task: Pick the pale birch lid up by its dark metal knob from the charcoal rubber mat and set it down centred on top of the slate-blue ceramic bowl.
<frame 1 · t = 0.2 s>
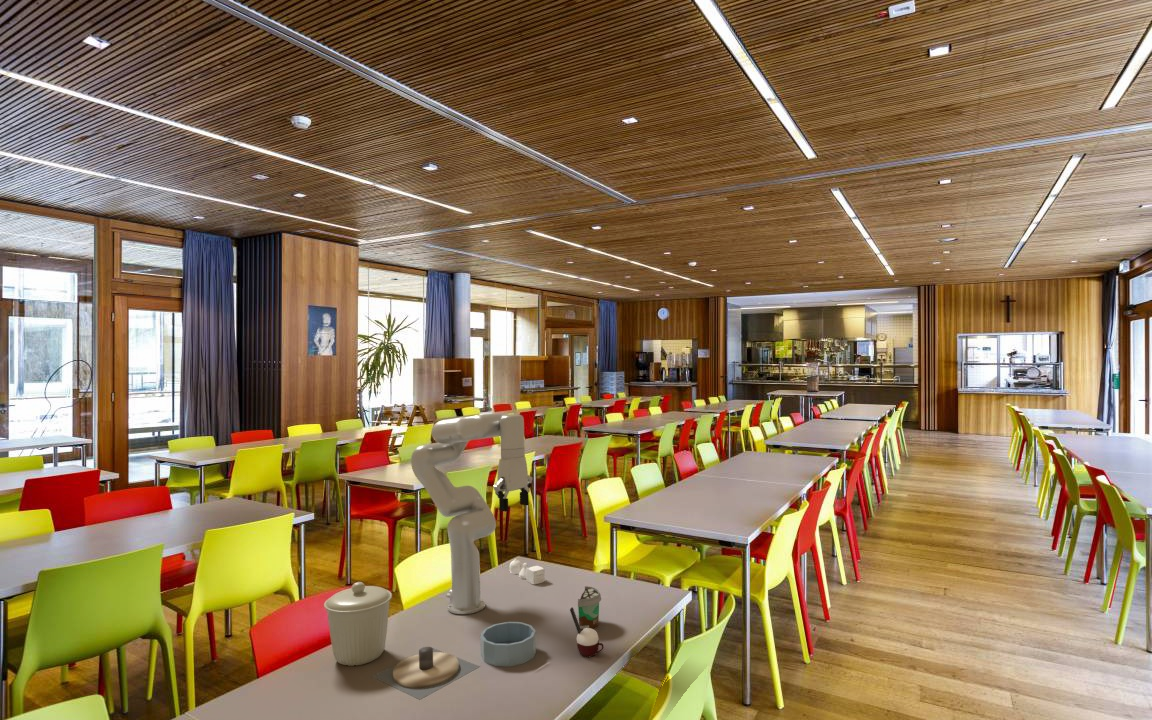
hand: (514, 507, 191), 37 cm above the table, tool pointing down, fingers open, 9 cm apart
lid: (426, 671, 161), resting on mat
container set: (525, 578, 235), on the table
food container: (592, 625, 188), on the table
canister: (359, 658, 171), on the table
cocoa: (587, 654, 170), on the table
mat: (426, 672, 161), on the table
bowl: (508, 654, 170), on the table
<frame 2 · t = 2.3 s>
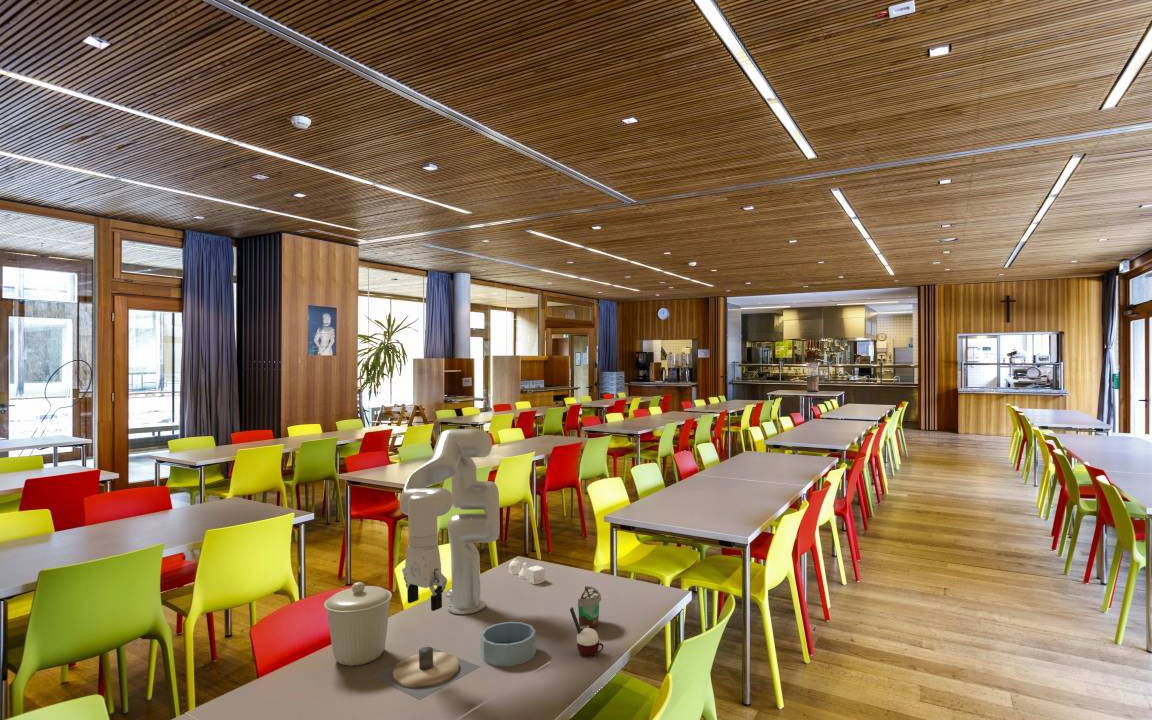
hand: (424, 605, 161), 18 cm above the table, tool pointing down, fingers open, 9 cm apart
nothing on the table moved.
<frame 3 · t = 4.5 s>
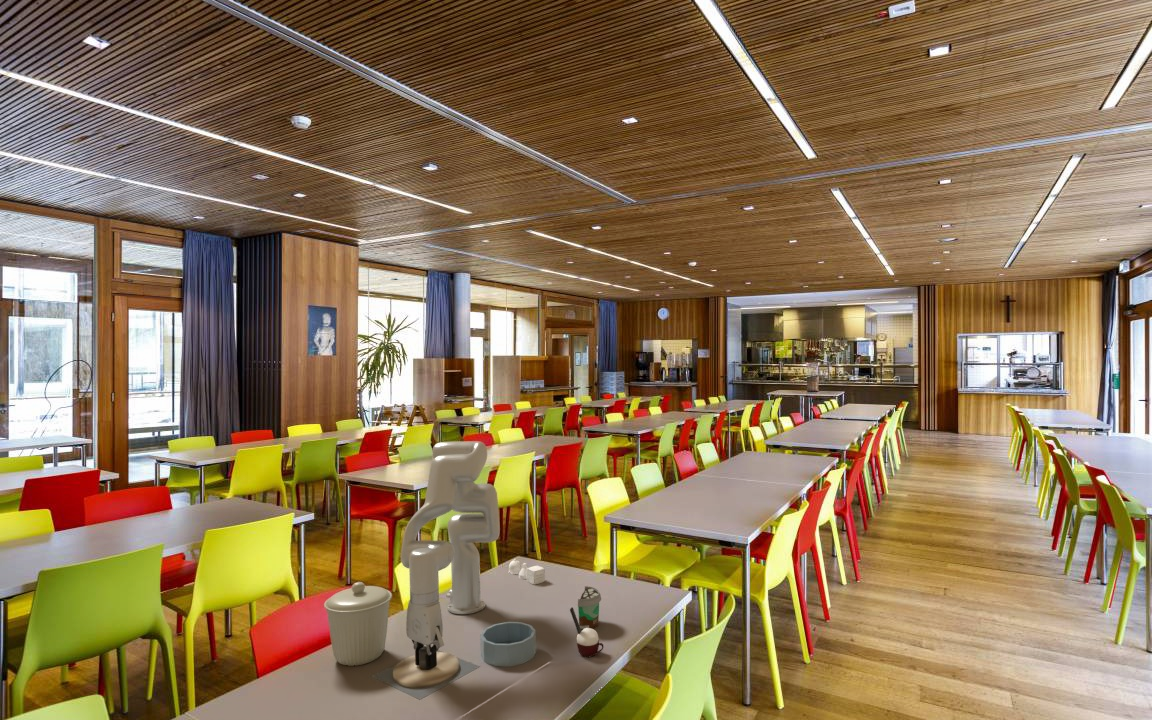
hand: (426, 665, 161), 2 cm above the table, tool pointing down, fingers closed on lid, 3 cm apart
lid: (426, 671, 161), resting on mat, touching gripper
everything else where it was.
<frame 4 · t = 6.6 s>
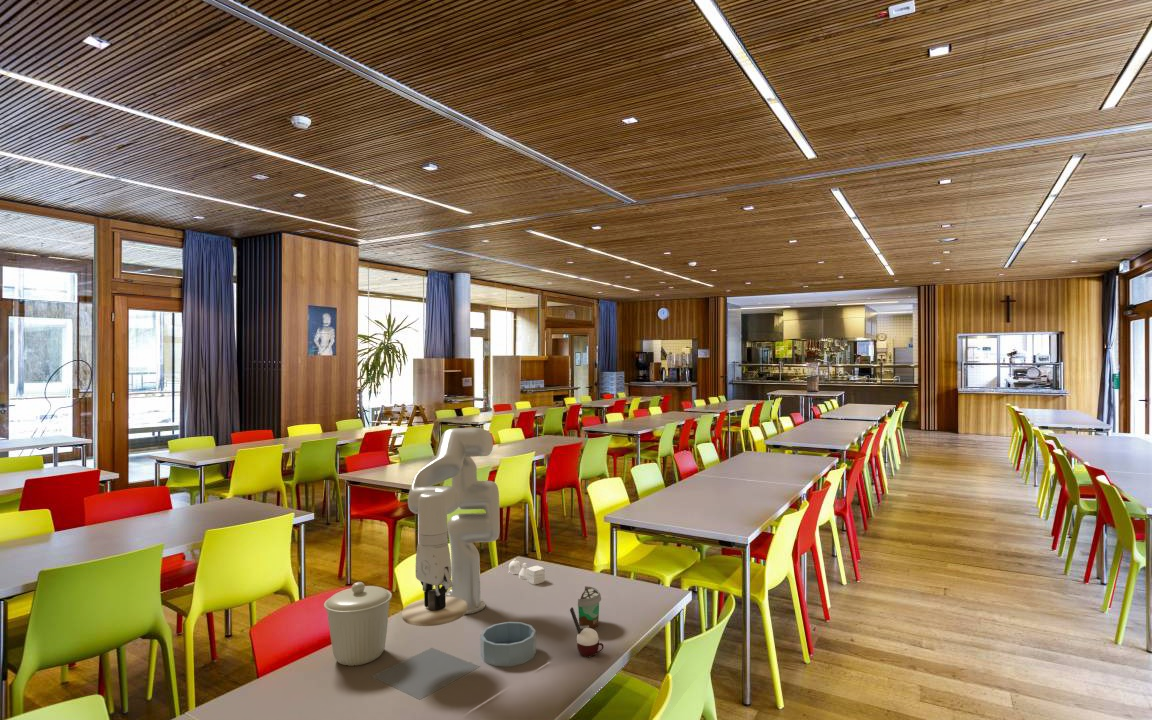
hand: (435, 606, 163), 17 cm above the table, tool pointing down, fingers closed on lid, 3 cm apart
lid: (435, 612, 163), point 15 cm above the table, touching gripper
everything else where it was.
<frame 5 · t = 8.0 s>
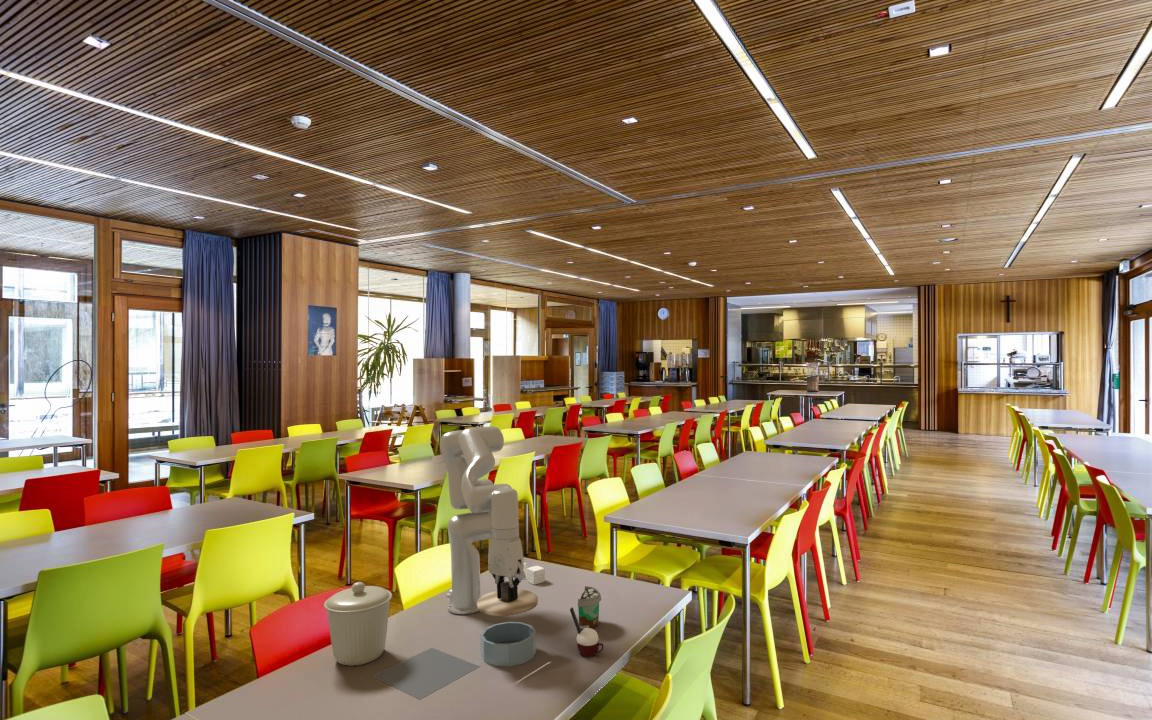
hand: (507, 598, 170), 16 cm above the table, tool pointing down, fingers closed on lid, 3 cm apart
lid: (507, 604, 170), point 14 cm above the table, touching gripper
everything else where it was.
when the fingers open (9 cm above the table, at t = 9.0 s): lid drops 1 cm, resting on bowl.
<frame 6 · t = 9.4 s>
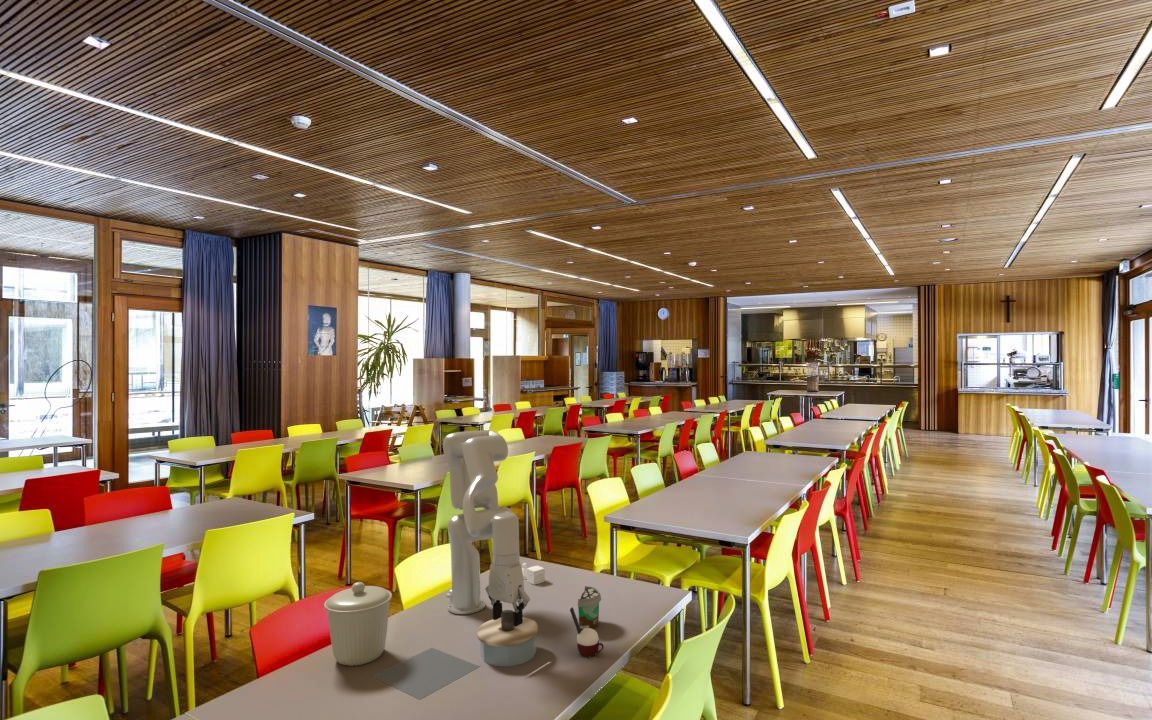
hand: (507, 621, 171), 9 cm above the table, tool pointing down, fingers open, 7 cm apart
lid: (507, 632, 171), point 6 cm above the table, touching bowl
everything else where it was.
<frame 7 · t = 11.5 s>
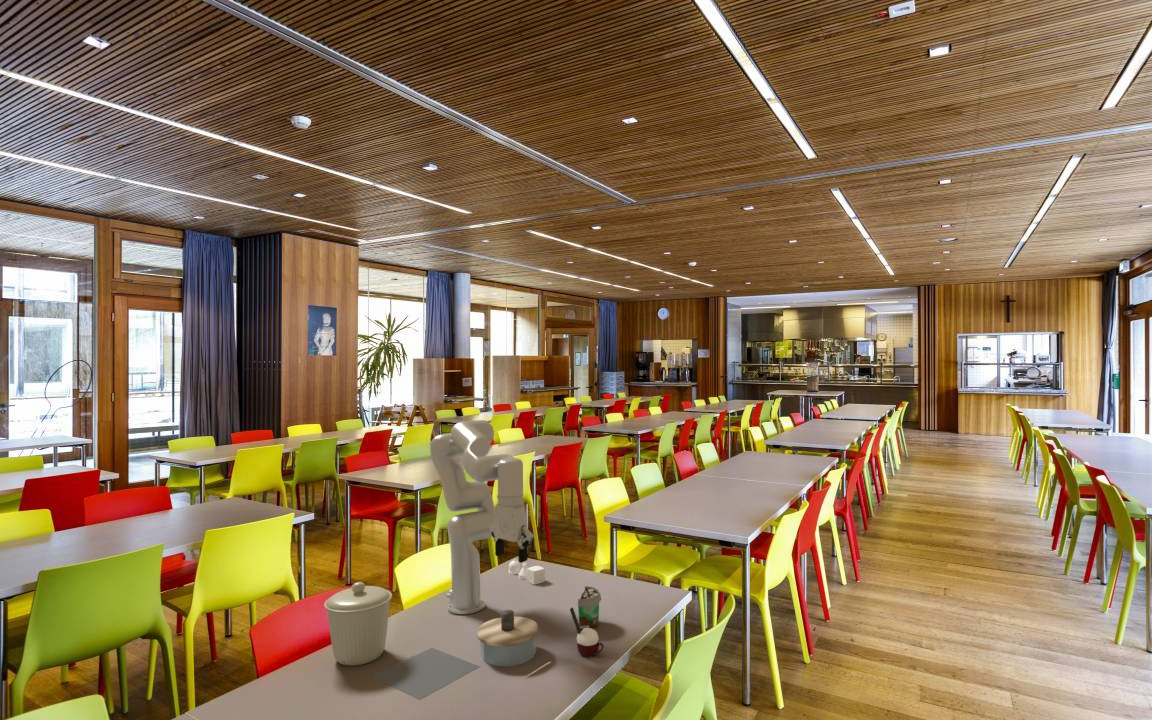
hand: (511, 558, 180), 24 cm above the table, tool pointing down, fingers open, 9 cm apart
nothing on the table moved.
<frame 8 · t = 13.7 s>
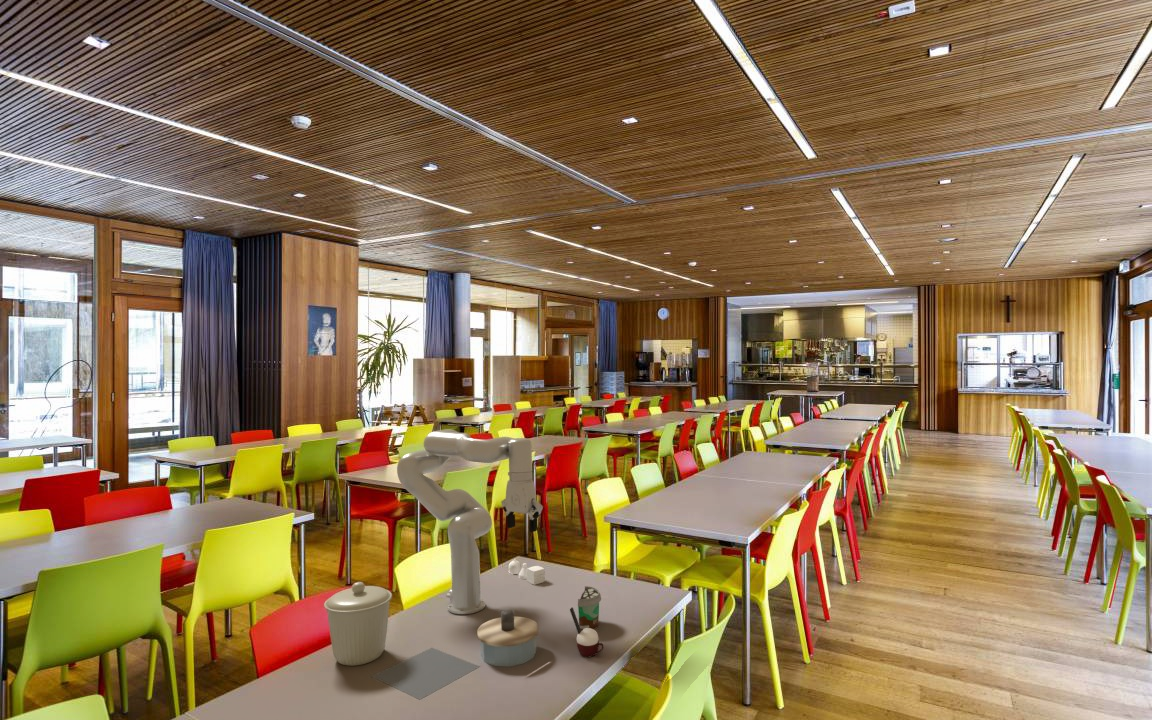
hand: (522, 529, 197), 28 cm above the table, tool pointing down, fingers open, 9 cm apart
nothing on the table moved.
at the end: lid 0.1 cm off-centre on the bowl, point 6.0 cm above the bowl's base; lid tilted 0°; the gripper is holding nothing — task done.
